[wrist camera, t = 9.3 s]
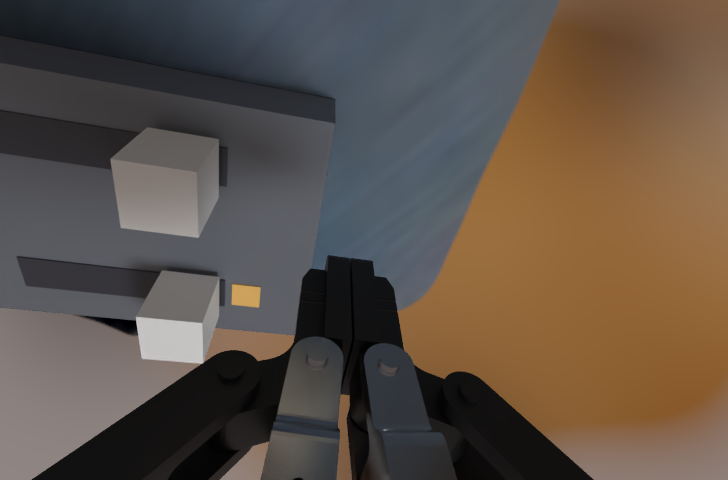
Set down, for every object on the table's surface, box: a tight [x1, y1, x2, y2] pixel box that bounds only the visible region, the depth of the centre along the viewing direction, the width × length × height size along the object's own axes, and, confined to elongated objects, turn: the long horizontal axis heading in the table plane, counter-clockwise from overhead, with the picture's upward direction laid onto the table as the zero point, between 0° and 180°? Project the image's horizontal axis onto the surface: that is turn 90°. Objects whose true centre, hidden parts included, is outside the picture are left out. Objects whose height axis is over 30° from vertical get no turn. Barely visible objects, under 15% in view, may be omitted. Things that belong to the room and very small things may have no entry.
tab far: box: [136, 270, 219, 364], centre depth 21 cm, size 3×3×4 cm
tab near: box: [110, 127, 219, 238], centre depth 17 cm, size 3×3×4 cm
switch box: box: [0, 36, 335, 335], centre depth 22 cm, size 20×14×4 cm
